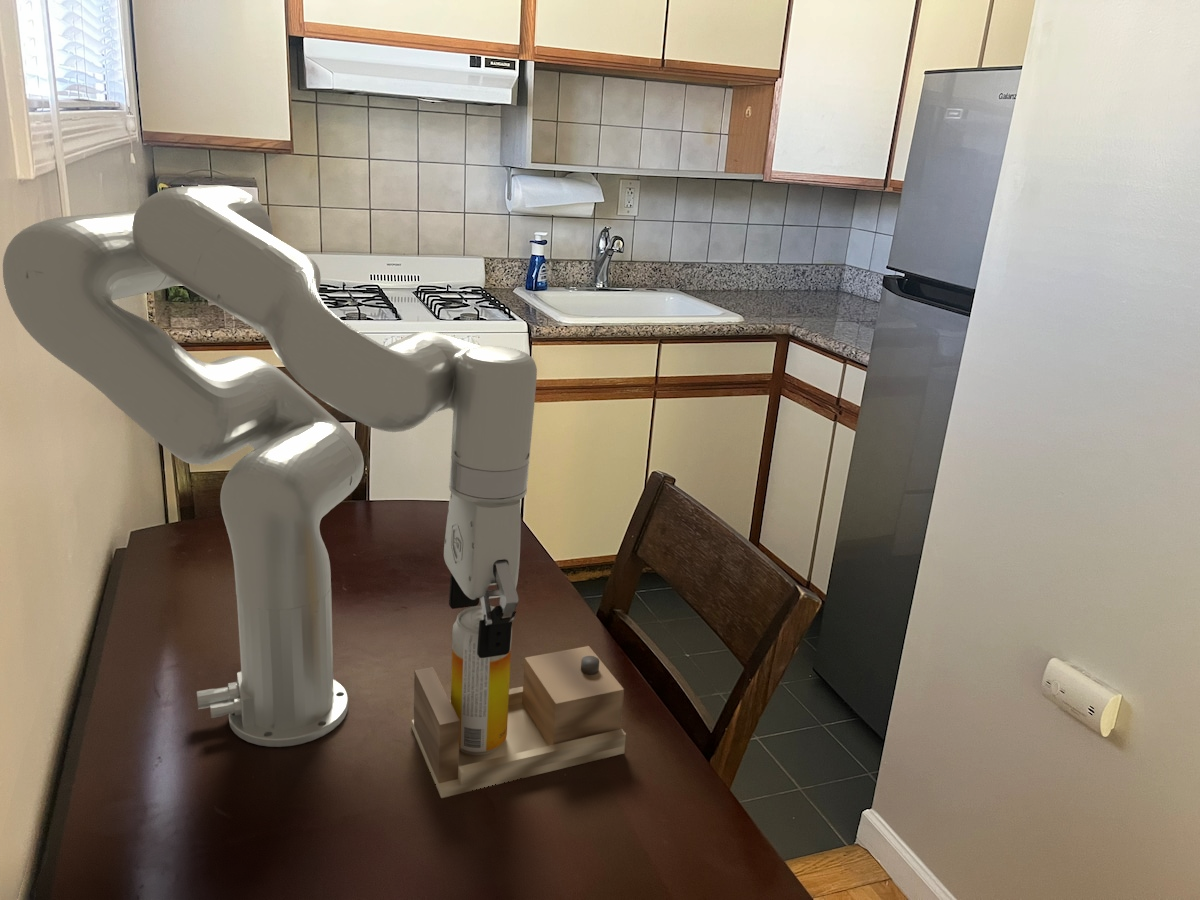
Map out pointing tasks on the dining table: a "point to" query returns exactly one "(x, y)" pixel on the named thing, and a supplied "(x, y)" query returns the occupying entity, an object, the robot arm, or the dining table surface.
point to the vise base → (511, 759)
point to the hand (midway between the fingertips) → (477, 629)
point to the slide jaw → (571, 695)
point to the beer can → (478, 687)
